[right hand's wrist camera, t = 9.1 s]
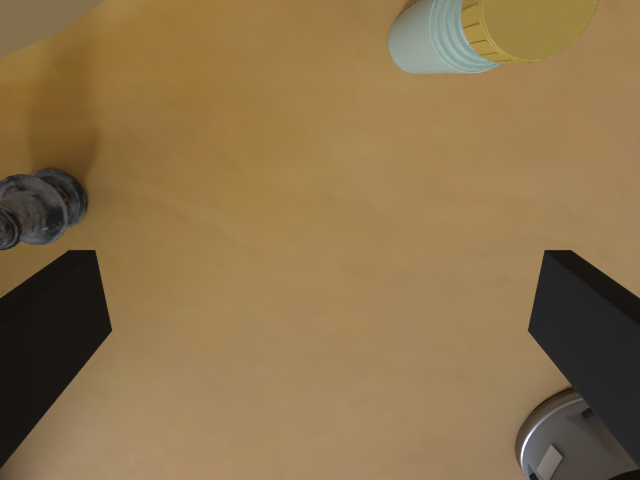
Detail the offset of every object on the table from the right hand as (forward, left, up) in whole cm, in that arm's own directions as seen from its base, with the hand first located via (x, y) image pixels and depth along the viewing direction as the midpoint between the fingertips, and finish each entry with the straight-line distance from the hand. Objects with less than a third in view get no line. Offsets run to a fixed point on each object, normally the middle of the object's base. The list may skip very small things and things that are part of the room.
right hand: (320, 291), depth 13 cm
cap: (-4, -11, -6) cm, 13 cm away
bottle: (-4, -11, -25) cm, 27 cm away
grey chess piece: (+20, +13, -25) cm, 34 cm away
